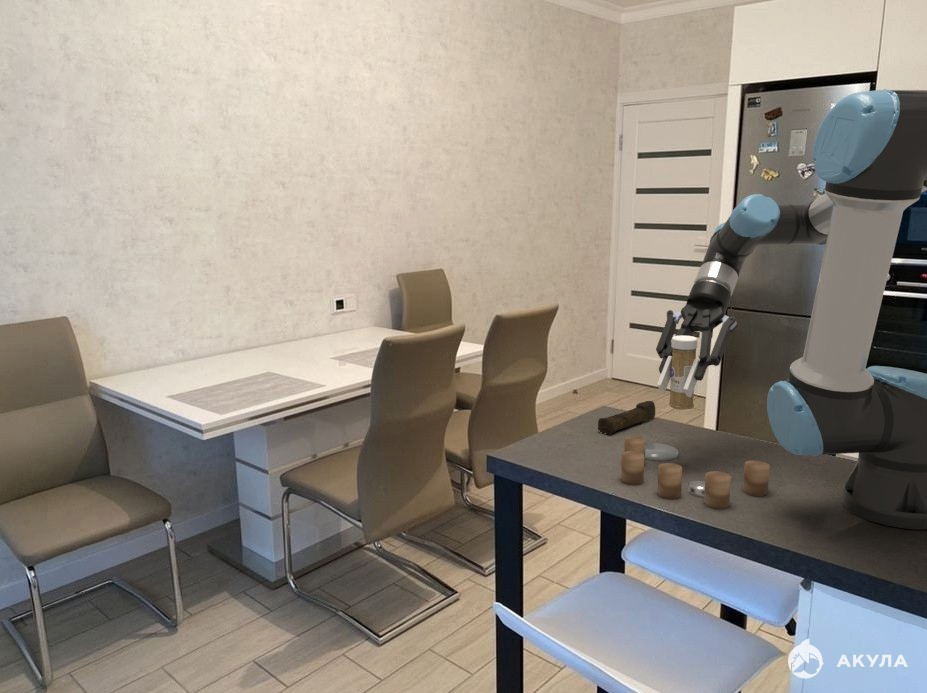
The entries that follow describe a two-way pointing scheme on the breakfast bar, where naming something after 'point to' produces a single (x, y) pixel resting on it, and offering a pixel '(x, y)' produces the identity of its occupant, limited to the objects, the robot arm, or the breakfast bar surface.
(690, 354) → the sprinkles bottle
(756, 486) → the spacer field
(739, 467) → the breakfast bar surface
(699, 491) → the silver rounded piece
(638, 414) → the dark brown elongated piece
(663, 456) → the coaster
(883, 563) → the breakfast bar surface
